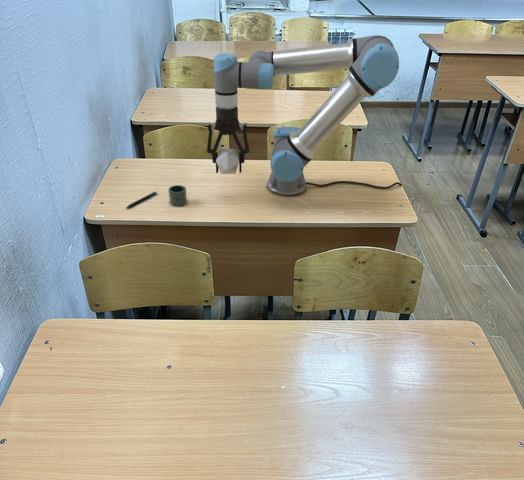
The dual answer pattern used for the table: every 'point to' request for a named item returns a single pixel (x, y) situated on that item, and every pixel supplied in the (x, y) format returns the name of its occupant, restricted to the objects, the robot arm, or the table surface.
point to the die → (227, 161)
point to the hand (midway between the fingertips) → (228, 171)
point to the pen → (141, 199)
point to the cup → (177, 195)
